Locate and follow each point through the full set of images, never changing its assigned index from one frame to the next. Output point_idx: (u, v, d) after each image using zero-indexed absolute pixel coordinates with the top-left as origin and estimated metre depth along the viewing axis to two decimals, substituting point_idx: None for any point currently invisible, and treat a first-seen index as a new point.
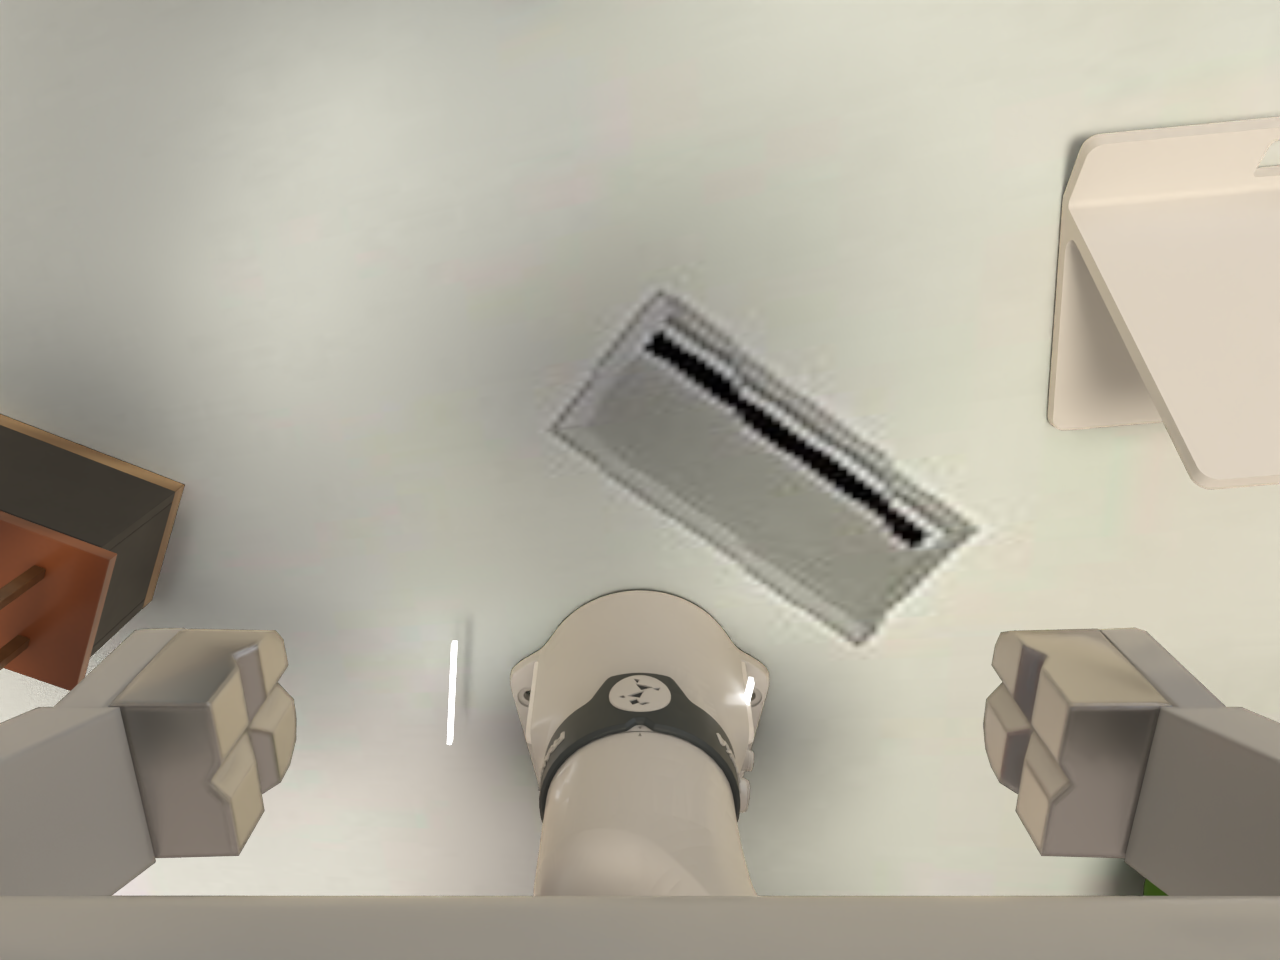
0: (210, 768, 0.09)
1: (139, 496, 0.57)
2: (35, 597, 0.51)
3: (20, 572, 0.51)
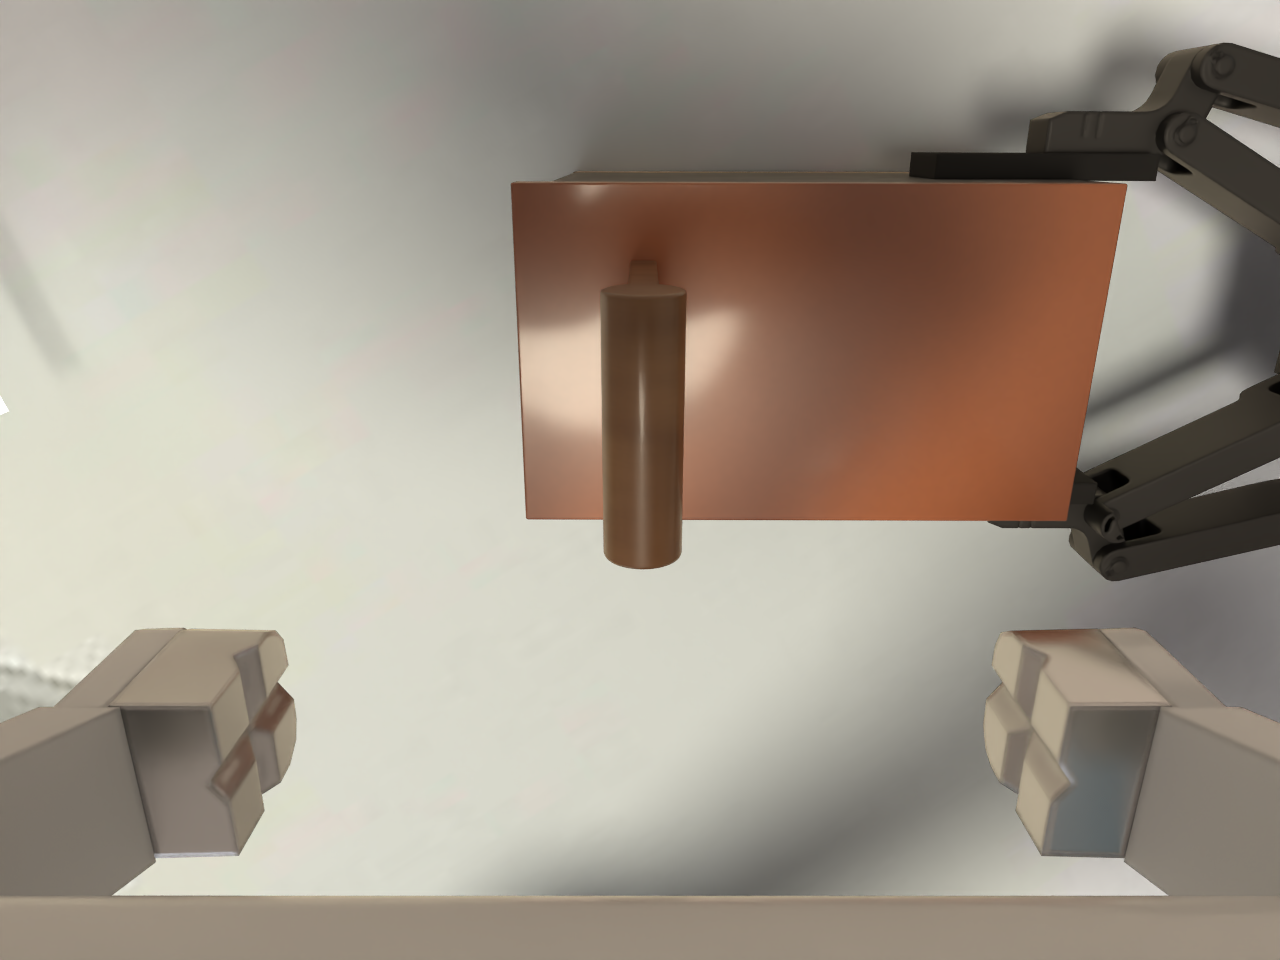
0: (211, 768, 0.09)
1: None
2: None
3: None
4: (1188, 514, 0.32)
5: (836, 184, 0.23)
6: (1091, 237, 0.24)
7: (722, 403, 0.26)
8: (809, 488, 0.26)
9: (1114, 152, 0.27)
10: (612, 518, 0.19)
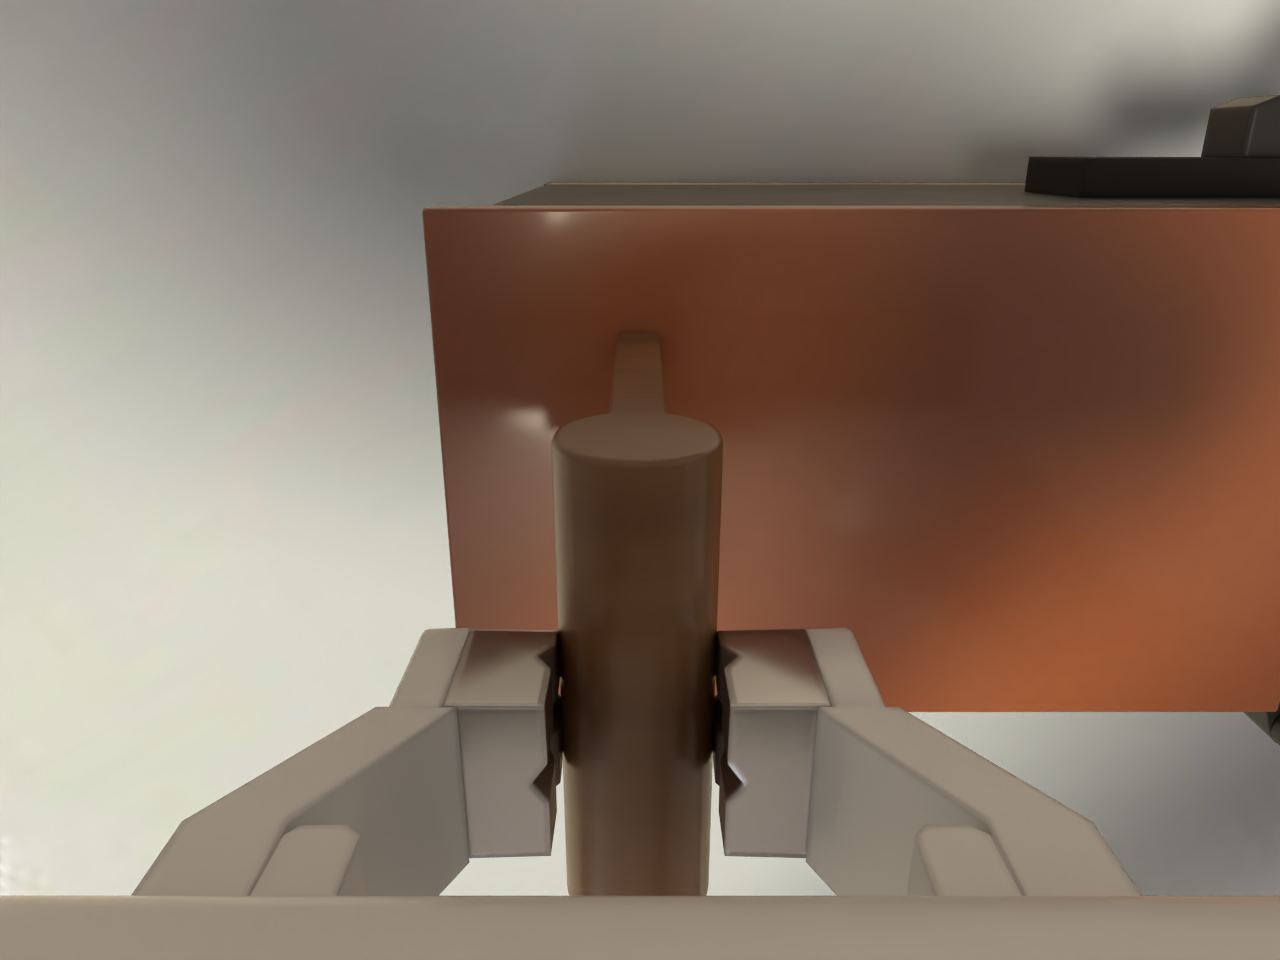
0: (536, 768, 0.09)
1: None
2: None
3: None
4: None
5: (950, 210, 0.14)
6: None
7: (760, 547, 0.17)
8: (891, 667, 0.17)
9: None
10: (580, 846, 0.10)
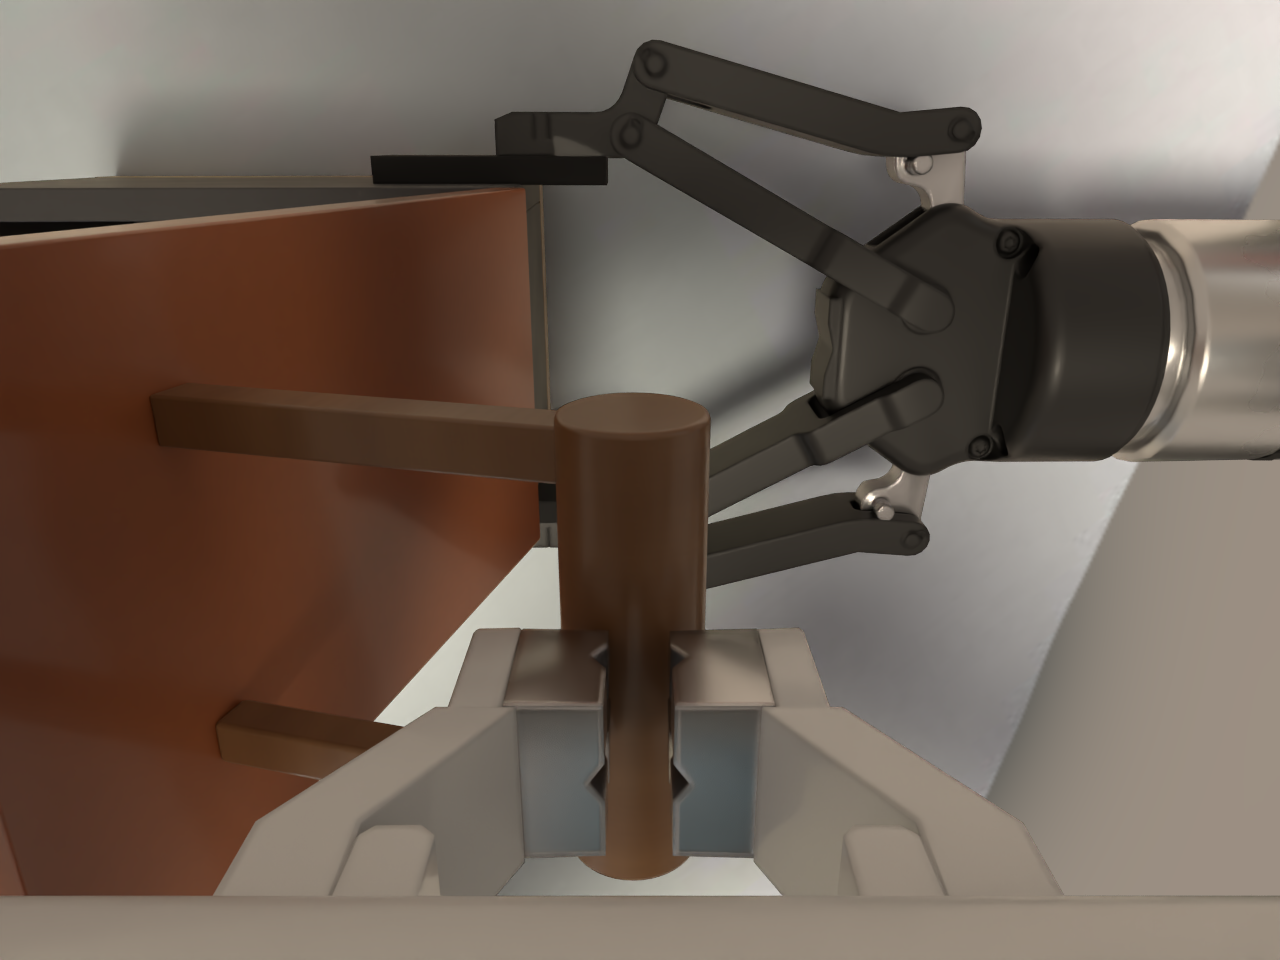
0: (592, 768, 0.09)
1: None
2: (206, 630, 0.13)
3: (268, 668, 0.14)
4: (735, 531, 0.31)
5: (359, 207, 0.16)
6: (517, 246, 0.22)
7: (309, 587, 0.15)
8: (402, 642, 0.18)
9: (570, 155, 0.25)
10: (662, 807, 0.11)
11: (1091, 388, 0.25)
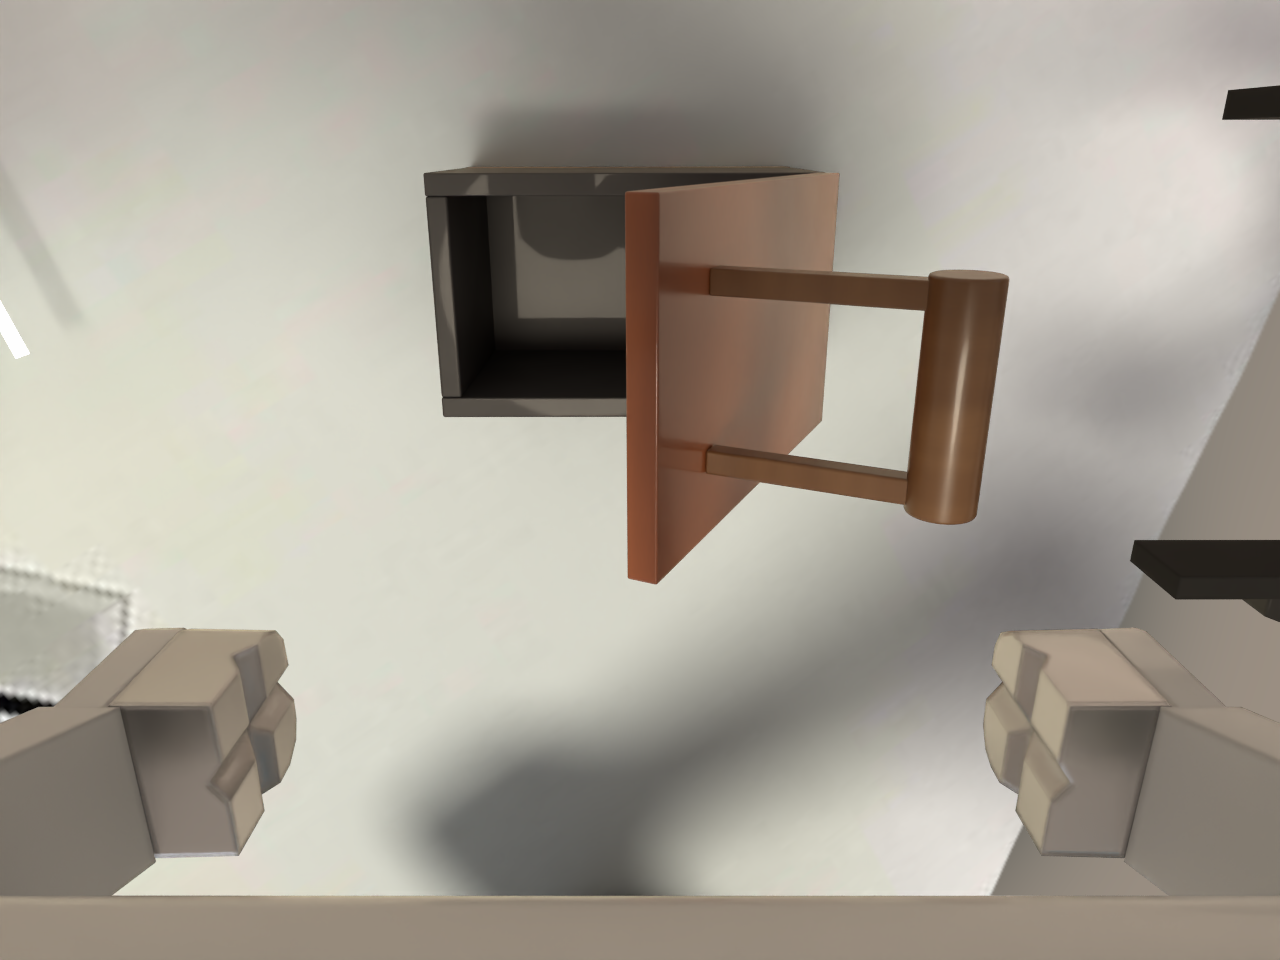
0: (210, 768, 0.09)
1: None
2: (709, 399, 0.24)
3: (722, 433, 0.26)
4: None
5: (776, 180, 0.27)
6: (832, 212, 0.33)
7: (738, 395, 0.27)
8: None
9: None
10: (964, 483, 0.22)
11: None
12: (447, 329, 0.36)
